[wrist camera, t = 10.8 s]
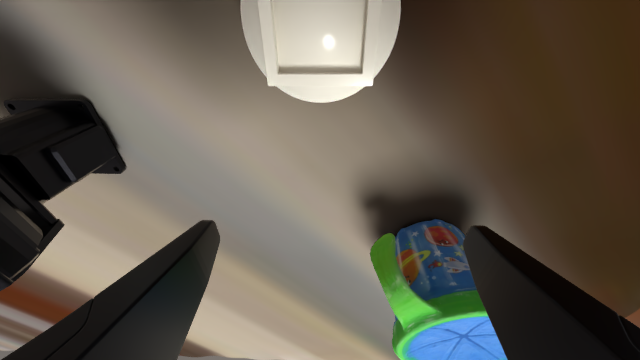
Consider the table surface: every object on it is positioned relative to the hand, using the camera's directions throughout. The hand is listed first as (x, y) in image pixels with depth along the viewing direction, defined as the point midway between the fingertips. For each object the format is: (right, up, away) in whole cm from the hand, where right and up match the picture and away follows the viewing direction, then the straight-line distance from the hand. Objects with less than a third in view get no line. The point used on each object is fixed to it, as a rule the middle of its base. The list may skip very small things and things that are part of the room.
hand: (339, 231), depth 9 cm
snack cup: (+11, -5, +18) cm, 21 cm away
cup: (-1, +12, +7) cm, 13 cm away
